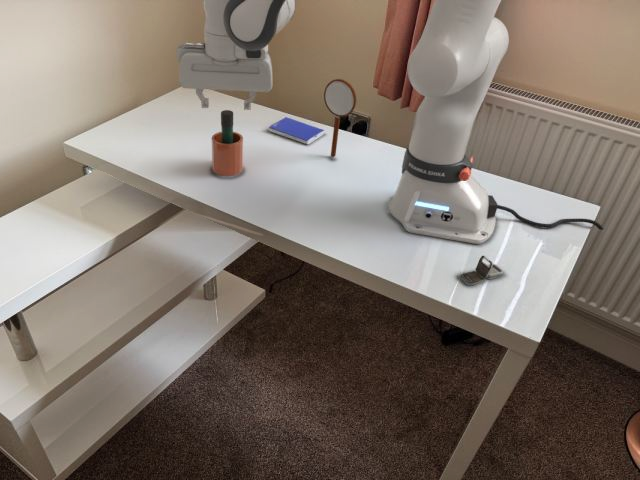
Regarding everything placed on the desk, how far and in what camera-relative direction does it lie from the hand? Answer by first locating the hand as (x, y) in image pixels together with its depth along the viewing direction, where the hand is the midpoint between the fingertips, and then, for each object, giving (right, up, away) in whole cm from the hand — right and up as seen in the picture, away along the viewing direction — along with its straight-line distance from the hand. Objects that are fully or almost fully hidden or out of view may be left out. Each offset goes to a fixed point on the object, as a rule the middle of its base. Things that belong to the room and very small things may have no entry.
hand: (226, 108), depth 128 cm
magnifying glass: (+26, -8, +16) cm, 31 cm away
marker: (0, -12, +10) cm, 15 cm away
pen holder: (0, -12, +10) cm, 16 cm away
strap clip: (+49, -38, -19) cm, 65 cm away
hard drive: (+18, +1, +27) cm, 32 cm away
